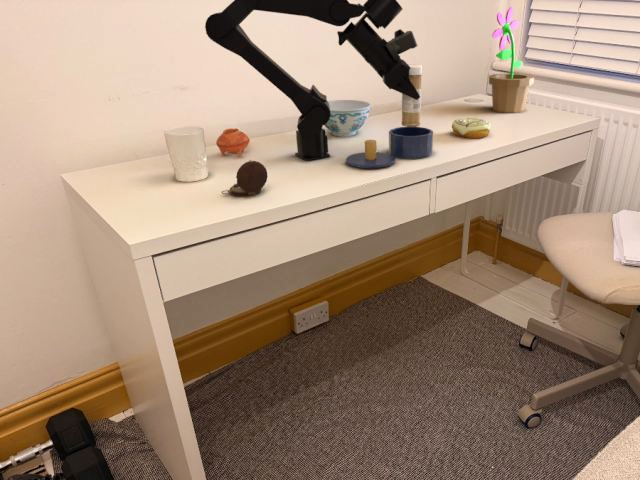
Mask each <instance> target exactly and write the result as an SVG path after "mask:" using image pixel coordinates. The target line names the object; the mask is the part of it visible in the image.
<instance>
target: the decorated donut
mask: <svg viewBox="0 0 640 480" xmlns="http://www.w3.org/2000/svg"><path fill="white" fill-rule="evenodd" d="M451 129H452V132H453V133H454V134H455V135H456V136H458V137H462V138H466V139H470V138H471V139H476V138H480V139H481V138H484V137H487V136H489V134H490V131H491V129H492V124H491V123H490V122H489V121H487V120H485V119H482V118H478V117H477V118H476V117H465V118H457V119H455V120H453V121H452V123H451Z"/></svg>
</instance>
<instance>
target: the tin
mask: <svg viewBox="0 0 640 480" xmlns="http://www.w3.org/2000/svg"><path fill="white" fill-rule="evenodd" d="M433 140H434V131H433V130H432V129H431V128H427V127H423V126H417V127H406V126H399V127H394V128H392V129H390V130H389V131H388V152H389V153H388V154H390V155H393V156H394V157H395V159H396V158H397V159H401V160H419V159H420V160H421V159H425V158H429V157H431V156H432V154H433V144H434V143H433V142H434V141H433Z"/></svg>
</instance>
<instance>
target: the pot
mask: <svg viewBox="0 0 640 480" xmlns="http://www.w3.org/2000/svg"><path fill="white" fill-rule="evenodd" d="M250 140H251V139H250V137H249V135H247V134H246V133H245V132H243V131H241V130H240V129H239V128H233V127H232V128H226V129H224V130H223V131H222V133H221V134H220V135H219V137H218V138H217V139H216V141H215V143H216V144H215V145H216V146H217V147H218V148H219V151H220V154H221V155H222V156H225V157H226V153H229V154H237V156H238V158H241V157H242V153H244V151H245V149H246V148H247V147H248V146H249V144H250Z"/></svg>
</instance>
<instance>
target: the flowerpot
mask: <svg viewBox="0 0 640 480" xmlns="http://www.w3.org/2000/svg"><path fill="white" fill-rule="evenodd" d="M513 15H514V10H513V7H512V6H510V7H509V8H508V10H507V11H506V14H505V16H504V15H503V14H502V13H501V12H498V13H497V14H496V21H497V23H498V25H499V26H500V27H502V28H497V29H495V30H493V33H492V35H491V37H492V38H493V39H498V38H500V39H499V43H498V48H499V52H498V53H497V54H495V57H496V58H499V59H500V60H502V61H508V60H510V59H511V63H510V72H509V73H494V74H490V75H488V84H489V85H491V94H492V95H491V98H492V99H491V100H492V111H494V112H497V113H505V114H508V113H509V114H513V113H514V114H516V113H522V112H524V111H525V110H526V109H525V108H526V105H527V100H528V96H529V91H530V87H531V86H533V85H534V84H535V77H534V75H531V74H523V73H514V69H520V68H521V67H523V65H524V63H523V61H521V60H515V59H516V54H515V51H516V50H515V35H514V33H512V31H514V30H516V29H518V27H519V25H520V21H519V20H512V19H513ZM507 42H508V44H510V46H511V49H510V48H505V47H506V43H507Z"/></svg>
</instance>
